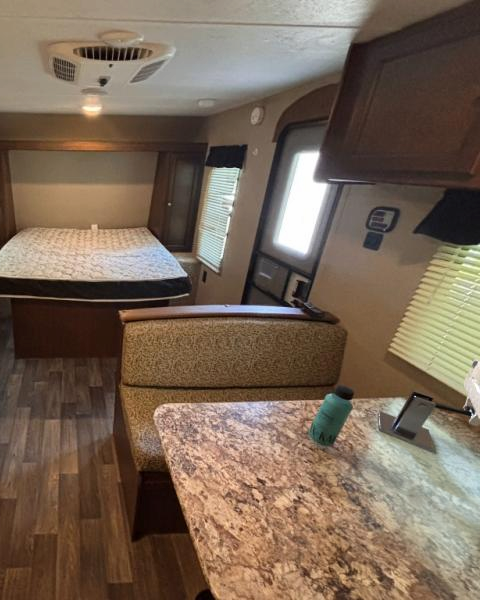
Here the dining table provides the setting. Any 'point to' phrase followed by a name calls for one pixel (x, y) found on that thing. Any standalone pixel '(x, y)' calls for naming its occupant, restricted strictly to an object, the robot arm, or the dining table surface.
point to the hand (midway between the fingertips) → (469, 417)
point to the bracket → (410, 421)
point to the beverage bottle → (332, 416)
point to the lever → (452, 408)
